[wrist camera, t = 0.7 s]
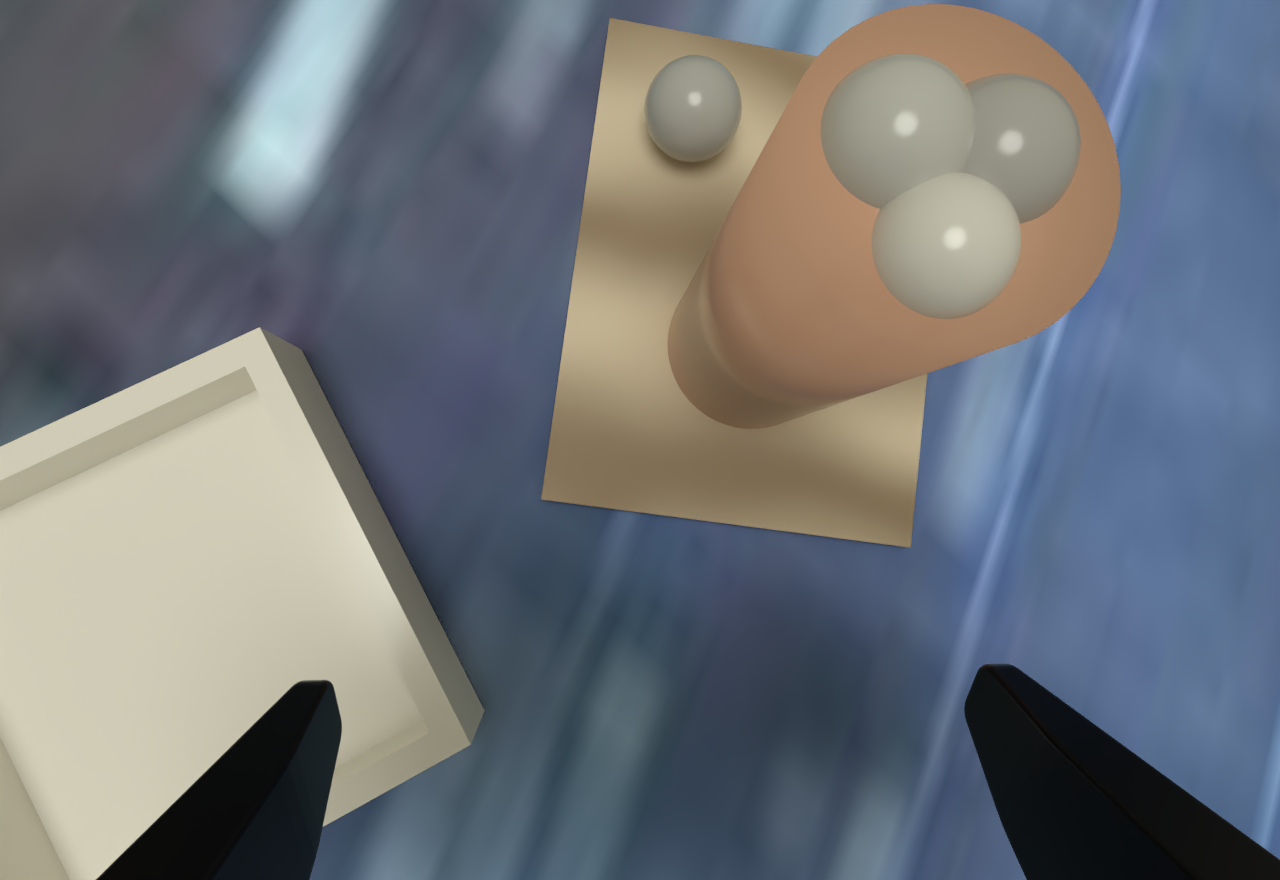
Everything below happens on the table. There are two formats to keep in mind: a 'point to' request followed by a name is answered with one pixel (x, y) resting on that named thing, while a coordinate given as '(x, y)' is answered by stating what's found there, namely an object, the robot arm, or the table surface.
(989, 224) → the terracotta jar
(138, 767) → the cream dish
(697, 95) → the grey pebble
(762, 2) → the table surface
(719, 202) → the beech board
